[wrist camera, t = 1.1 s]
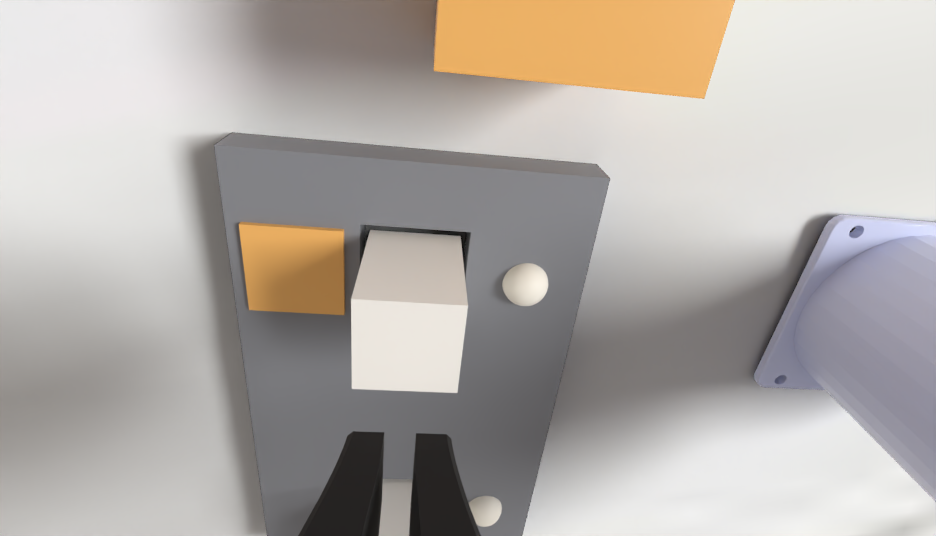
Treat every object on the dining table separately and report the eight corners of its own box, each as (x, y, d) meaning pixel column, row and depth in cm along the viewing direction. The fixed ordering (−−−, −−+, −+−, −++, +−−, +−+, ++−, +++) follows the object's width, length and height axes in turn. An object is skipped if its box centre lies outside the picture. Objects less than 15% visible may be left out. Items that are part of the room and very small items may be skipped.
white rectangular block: (460, 236, 17) (468, 305, 13) (452, 310, 18) (457, 393, 14) (370, 229, 17) (351, 299, 13) (369, 306, 18) (351, 388, 14)
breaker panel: (596, 164, 17) (618, 186, 15) (512, 531, 27) (518, 576, 25) (232, 132, 16) (202, 152, 14) (278, 529, 25) (265, 575, 23)
